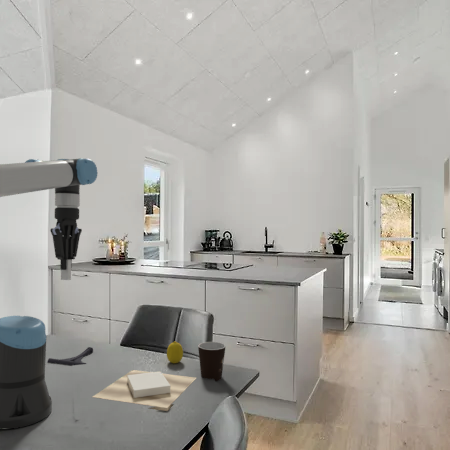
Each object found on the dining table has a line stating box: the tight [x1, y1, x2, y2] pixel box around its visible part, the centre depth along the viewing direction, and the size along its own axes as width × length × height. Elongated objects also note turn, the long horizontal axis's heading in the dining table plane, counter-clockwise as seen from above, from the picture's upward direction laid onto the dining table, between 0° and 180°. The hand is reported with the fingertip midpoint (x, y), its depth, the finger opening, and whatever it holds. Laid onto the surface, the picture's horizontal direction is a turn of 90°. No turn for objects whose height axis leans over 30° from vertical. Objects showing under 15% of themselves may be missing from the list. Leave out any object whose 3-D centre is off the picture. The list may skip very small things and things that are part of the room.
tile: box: [127, 370, 171, 398], centre depth 115 cm, size 2×10×12 cm
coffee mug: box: [197, 341, 226, 382], centre depth 127 cm, size 12×9×10 cm
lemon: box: [166, 340, 184, 364], centre depth 137 cm, size 6×6×8 cm
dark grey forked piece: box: [47, 346, 94, 366], centre depth 143 cm, size 14×15×3 cm
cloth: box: [92, 369, 197, 412], centre depth 116 cm, size 22×22×1 cm
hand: (65, 279), depth 131 cm, fingers closed
